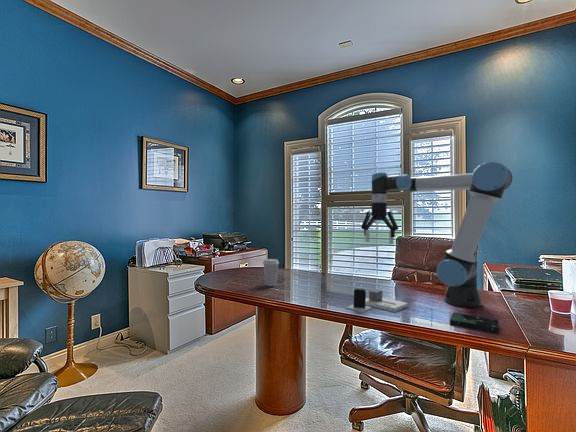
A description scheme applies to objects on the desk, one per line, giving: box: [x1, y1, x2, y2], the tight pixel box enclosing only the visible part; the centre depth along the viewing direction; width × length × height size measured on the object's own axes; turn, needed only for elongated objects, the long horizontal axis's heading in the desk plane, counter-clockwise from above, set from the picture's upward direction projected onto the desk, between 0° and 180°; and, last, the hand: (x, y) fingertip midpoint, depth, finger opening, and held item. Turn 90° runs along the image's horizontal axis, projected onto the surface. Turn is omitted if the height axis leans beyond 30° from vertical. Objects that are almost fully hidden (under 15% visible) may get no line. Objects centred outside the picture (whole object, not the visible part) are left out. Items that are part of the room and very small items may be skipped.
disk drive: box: [449, 312, 499, 335], centre depth 109 cm, size 10×3×15 cm
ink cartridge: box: [353, 287, 367, 308], centre depth 129 cm, size 5×2×8 cm, turn 76°
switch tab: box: [368, 289, 383, 301], centre depth 137 cm, size 4×5×4 cm
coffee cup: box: [262, 258, 280, 287], centre depth 171 cm, size 10×10×15 cm
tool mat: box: [345, 303, 373, 313], centre depth 129 cm, size 8×8×1 cm
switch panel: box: [365, 296, 409, 313], centre depth 134 cm, size 17×12×2 cm
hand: (378, 243), depth 154 cm, fingers open, 13 cm apart
